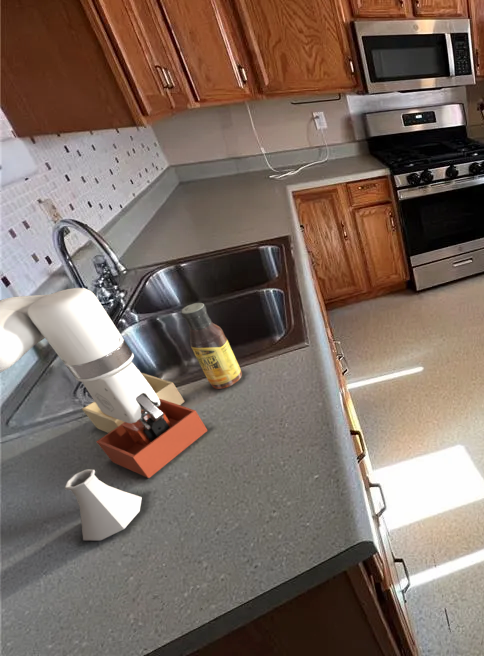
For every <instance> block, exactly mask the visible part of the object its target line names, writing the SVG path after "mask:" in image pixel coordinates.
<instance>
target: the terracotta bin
mask: <svg viewBox="0 0 484 656" xmlns="http://www.w3.org/2000/svg"><path fill="white" fill-rule="evenodd" d="M159 400H160V405H159V406H158V407H157V408H158V409H159V410H160V411H161V412H163V413H164V414H165V415H166V417H167V418H168V420H169V421H170V423H171V424H172V427H171V428H170V429H168V430H167V431H166V432H164V433H163V434H162V435H160V436H159V437H158V438H156V439H155V440H154V441H152V442H151V443H150V444H148V445H147V446H146V447H145V446H142V445H140V444H137V443H135V442H134V441H133V440H132V438H131V437H130V436H129V434H128V433H127V432H126V430H125V429H124V427H123V426H122V425H124V424H125V423H126V422H124V423H123V424H121V425H120V426H118V427H117V428H115V429H114V430H112V431H111V432H109V433H107V434H104V435H103V436H102V437H101V438H99V439H97V440H96V442H95V443H96V444H97V445H98V446H99V447H100V449H101V450H102V451H103V452H104V453H105V455H106V456H107V457H108V458H109V460H110V461H111V462H112V463H114V464H116V465H118V466H120V467H122V468H125V469H127V470H130V471H132V472H134V473H136V474H138V475H141V476H143V477H145V478H147V479H150V478H151V477H153V476H154V475H155V474H156V473H158V472H159V471H160V470H161V469H162V468H164V467H165V466H166V465H167V464H168V463H170V462H171V461H172V460H174V458H176V457H177V456H178V455H180V454H181V453H182V452H183V451H185V450H186V449H187V448H188V447H190V446H191V445H192V444H194V442H196V441H197V440H198V439H199V438H200V437H202V436H203V435H204V434H205V433H207V432H208V429H207V427H206V425H205V424H204V422H203V421H202V419H201V417H200V415H199V414H198V412H197V410H196V409H192V408H190V407H186V406H183V405H182V404H181V405H178V404H175V403H172V402H169V401H166V400H163V399H159ZM142 411H143V410H142ZM142 411H141V412H142Z"/></svg>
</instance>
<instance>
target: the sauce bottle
mask: <svg viewBox="0 0 484 656" xmlns="http://www.w3.org/2000/svg"><path fill="white" fill-rule="evenodd" d="M180 313H181V316H182V318H183V319H185V322H186V323H187V325H188V328H189V342H190V343H189V344H190V348H191V350H192V352H193V354H194V356H195V358H196V360H197V362H198V364H199V366H200V368H201V370H202V371H203V374H204V375H205V377H206V379H207V382H208V383H209V384H210V386H211V387H212V388H214V389H215V390H221V389H227V388H230V387H231V386H233V385H235V384H237V382H239V381H240V380H241V378H242V375H243V372H242V370H241V367H240V365H239V362H238V360H237V358H236V356H235V353H234V351H233V350H232V346H231V345H230V342H229V340H228V338H227V337H226V335H225V333H224V330H223V329H222V328H221V326H219V325H217V324H215V323H213V321H212V319H211V318H210V315H209V314H208V312H207V306H206V305H205V304H204V303H202V302H195V303H192V304H189V305H186V306H184V307H183V308H182V309H181V310H180Z"/></svg>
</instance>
